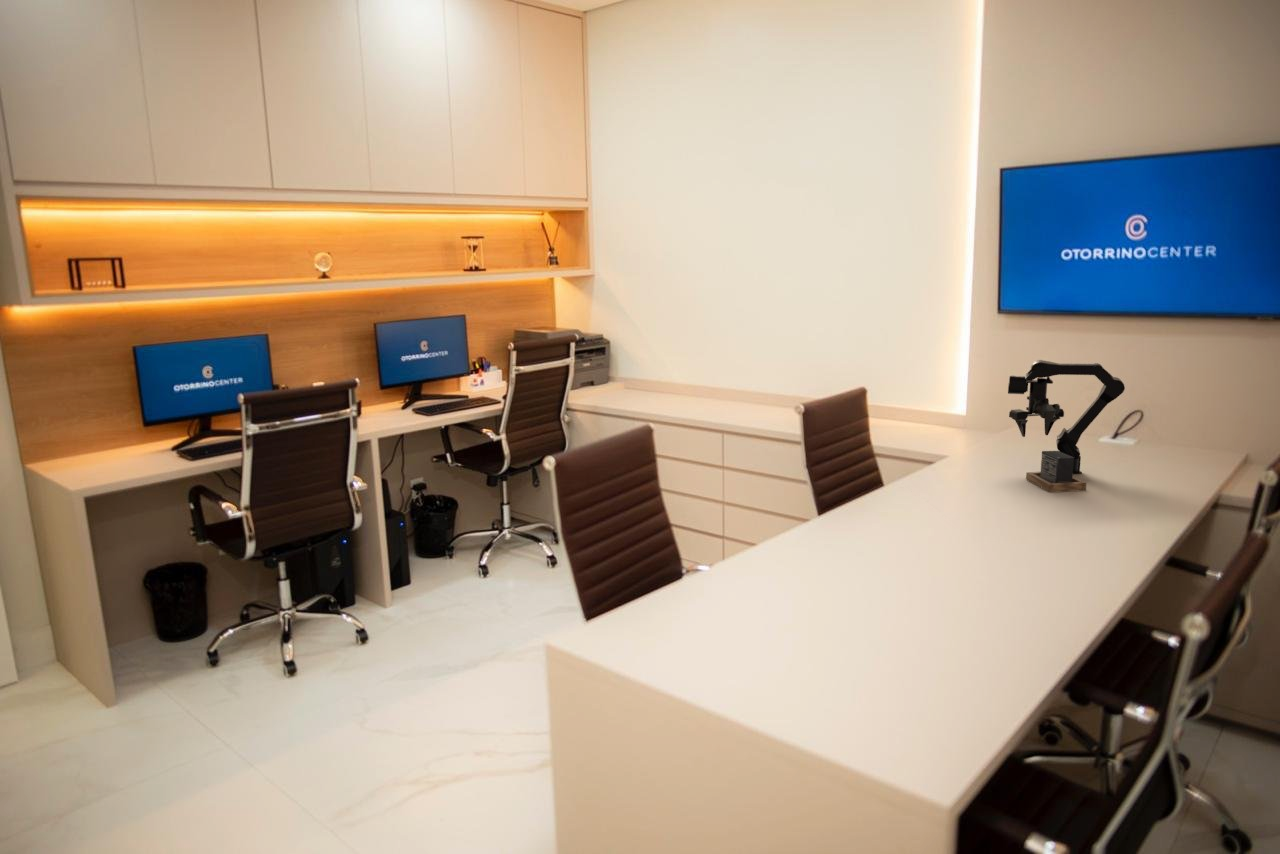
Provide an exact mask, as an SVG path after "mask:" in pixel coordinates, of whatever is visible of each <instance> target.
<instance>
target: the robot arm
mask: <svg viewBox="0 0 1280 854" xmlns="http://www.w3.org/2000/svg"><path fill="white" fill-rule="evenodd" d="M1059 375H1060V376H1062V375H1064V376H1065V375H1066V376H1094V377H1095V378H1096V379H1098V381H1100V383H1102V384H1103V385H1102V387H1101V389H1100V391H1099V393H1098V394H1097V397H1096V398H1095V399H1094V400H1093V402H1091V404H1090V405H1089V407H1087V408H1086V410H1085V411H1084V412H1083V414H1081V415H1080V417H1079V418H1078V419H1077V420H1076V422H1075V423H1074V424H1073V425H1072V426H1071V427H1070V428H1068V429H1067V428H1065V427H1063V428H1062V430H1061V432H1060V433H1059V434H1057V435H1056V441H1055V444H1056V448H1057V451H1060V452H1062V453H1064V454H1067V455H1069V456H1072V457H1074V464H1073V475H1078V474H1080V475H1081V474H1083V471H1081V458H1082V457H1081V452H1080V447H1078V446H1077V444H1078V442H1079V441H1080V438H1081V436H1082V434H1083V433H1084V432H1085V431H1086V430H1087V428H1089V426H1090V425H1091V424H1092V423H1093V421H1094V420H1095V419H1096V418H1097V417H1098V416H1099V415H1100V414H1101V412H1102V411H1103V410H1104V409H1105V407H1107V405H1108V404H1110V403H1112V402H1113V401H1114V400H1116V399H1117V398H1118V397H1119V396H1121V395H1123V394H1124V392H1125V389H1126V388H1125V384H1124V382H1123V381H1122V380H1121V378H1118V376H1117V377H1116V376H1113V375H1112V374H1111V373H1110V372H1108V371H1107V370H1106V369H1105V368H1104V367H1103V365H1102V364H1100V363H1096V362H1095V363H1058V362H1053V361H1048V360H1043V359H1037V360H1035V361H1033V362H1032V364H1031V365H1030V370H1029V371H1028V372H1027V373H1025V375H1024V376H1022V375H1009V380H1008V384H1007V385H1008V387H1007V394H1008V395H1025V393H1028V391H1029V395H1028V396H1027V397H1026V400H1028V406H1027V407H1026V410H1024V409H1020V408H1018V409H1011V410H1010V411H1009V414H1008V417H1009V418H1011V419H1012V420H1013V421H1015V424H1017V427H1018V430H1019V431H1020V432H1019V433H1020V435H1021V437H1022V438H1026V429H1027V428H1026V427H1027V426H1026V425H1027V422H1028V421H1029V420H1028V417H1039V416H1040V418H1041V419H1044V434H1045V436H1048V435H1049V434H1050V432H1051V429H1052V427H1053V425H1054V424H1055V422H1056V421H1058V420H1060V419H1061V418H1064V417H1065V411H1064V409H1063V408H1061V405H1060V404H1059V403H1053V404H1050V401H1049V398H1048V397H1047V393H1048V384H1050V385H1051V384H1054V381H1053V380H1052V379H1051V378H1050V377H1053V376H1059Z"/></svg>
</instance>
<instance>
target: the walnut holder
mask: <svg viewBox="0 0 1280 854" xmlns="http://www.w3.org/2000/svg"><path fill="white" fill-rule="evenodd" d="M1040 473H1041V471H1029V472H1028V471H1027V472H1026V475H1025V480H1026V479H1027V480H1026V481H1028V480H1029V481H1028V482H1030V481H1031V482H1030V483H1032V482H1033V483H1034V484H1033V483H1032V484H1033V485H1035V484H1036V486H1037V485H1038V486H1037V487H1039V486H1040V487H1039V488H1041V487H1042V488H1041V489H1043V490H1044V489H1045V490H1044V491H1046V490H1047V492H1048V491H1049V492H1048V493H1057V492H1058V491H1062V492H1076V491H1077V490H1079V491H1087V482H1085V481H1084V480H1082V479H1079V478H1078V477H1076V476H1073V475H1072V482H1069V483H1050V482H1048V481H1046V480H1044V479H1042V478H1040ZM1077 492H1078V491H1077ZM1058 493H1059V492H1058Z"/></svg>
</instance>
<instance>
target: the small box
mask: <svg viewBox="0 0 1280 854" xmlns="http://www.w3.org/2000/svg"><path fill="white" fill-rule="evenodd" d="M1073 464H1074V457H1072V456H1069V455H1067V454H1064V453H1062V452H1060V451H1059V450H1042V451H1041V463H1040V472H1041V473H1040V478H1042V479H1044V480H1046V481H1048V482H1050V483H1069V482H1072V476H1073V475H1074V474H1073Z"/></svg>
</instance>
